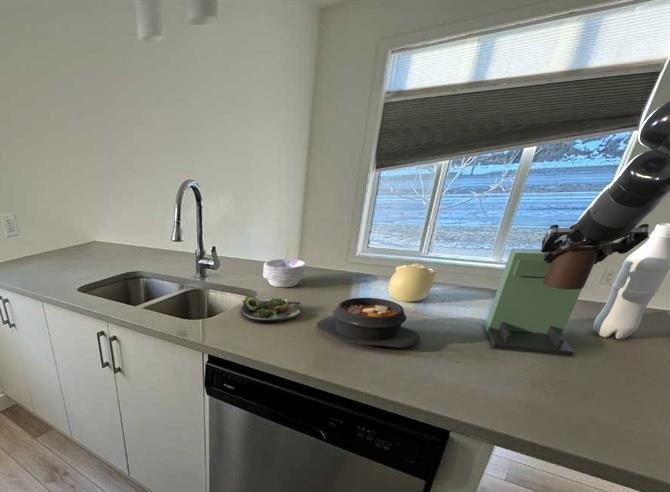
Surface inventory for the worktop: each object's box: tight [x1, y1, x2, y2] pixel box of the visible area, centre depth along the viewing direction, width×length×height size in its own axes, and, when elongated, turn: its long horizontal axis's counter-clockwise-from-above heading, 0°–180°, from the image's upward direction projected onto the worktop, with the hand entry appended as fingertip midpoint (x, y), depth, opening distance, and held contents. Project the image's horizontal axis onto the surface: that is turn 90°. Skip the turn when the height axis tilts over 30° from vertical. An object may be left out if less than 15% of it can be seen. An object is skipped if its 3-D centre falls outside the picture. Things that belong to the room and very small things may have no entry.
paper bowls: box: [262, 258, 308, 288], centre depth 149 cm, size 15×15×8 cm
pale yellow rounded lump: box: [388, 263, 437, 302], centre depth 125 cm, size 12×12×11 cm
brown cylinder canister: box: [543, 244, 601, 289], centre depth 84 cm, size 6×6×8 cm
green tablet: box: [484, 248, 583, 357], centre depth 93 cm, size 14×14×20 cm
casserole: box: [316, 297, 421, 349], centre depth 105 cm, size 25×19×8 cm
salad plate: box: [239, 295, 302, 324], centre depth 126 cm, size 19×18×5 cm
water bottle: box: [593, 222, 670, 340], centre depth 90 cm, size 7×7×25 cm
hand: (570, 259), depth 85 cm, fingers closed on brown cylinder canister, 6 cm apart
